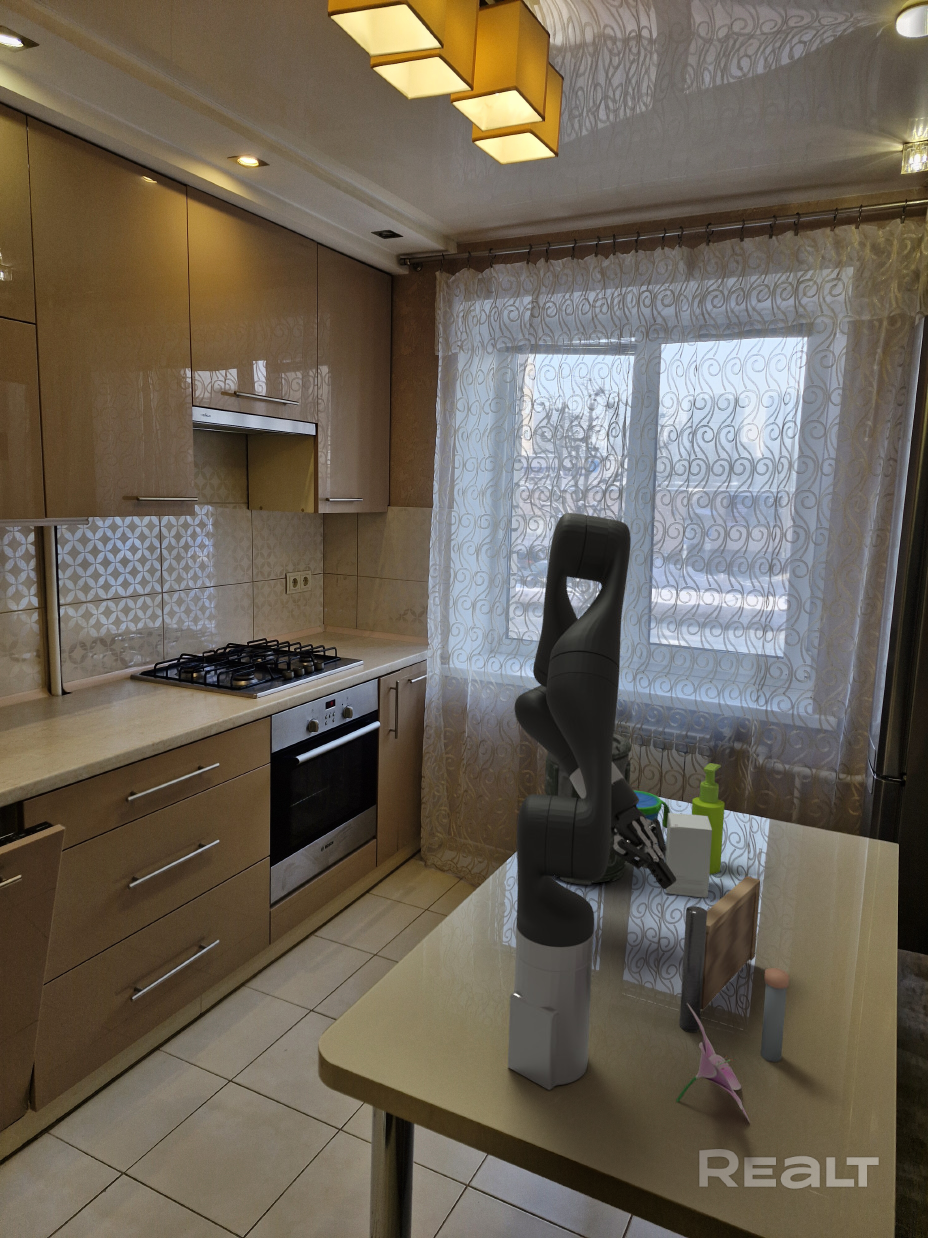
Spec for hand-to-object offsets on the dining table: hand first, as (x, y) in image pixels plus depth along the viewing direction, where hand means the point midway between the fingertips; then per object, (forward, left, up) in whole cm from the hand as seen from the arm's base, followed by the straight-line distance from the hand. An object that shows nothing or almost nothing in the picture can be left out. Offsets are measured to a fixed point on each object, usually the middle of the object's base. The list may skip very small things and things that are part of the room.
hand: (670, 885), depth 123 cm
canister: (+17, +25, -11) cm, 32 cm away
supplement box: (+23, +7, -11) cm, 27 cm away
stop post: (-14, -21, -11) cm, 27 cm away
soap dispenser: (+34, +8, -11) cm, 37 cm away
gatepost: (-15, -11, -11) cm, 21 cm away
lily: (-27, -19, -11) cm, 34 cm away
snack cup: (+33, +23, -11) cm, 42 cm away
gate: (-4, -11, -10) cm, 15 cm away
